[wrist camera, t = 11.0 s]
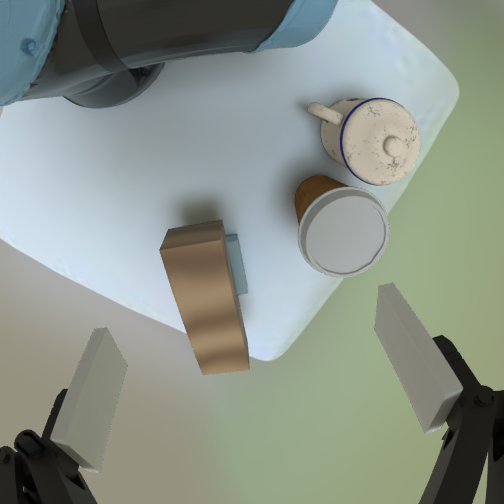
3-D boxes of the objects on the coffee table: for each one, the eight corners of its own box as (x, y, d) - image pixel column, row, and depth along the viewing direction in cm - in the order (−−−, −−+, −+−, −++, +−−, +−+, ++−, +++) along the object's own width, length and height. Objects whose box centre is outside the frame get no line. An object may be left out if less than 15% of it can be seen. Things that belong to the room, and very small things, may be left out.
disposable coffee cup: (304, 245, 43) (327, 297, 32) (267, 188, 39) (281, 226, 28) (364, 209, 41) (405, 250, 30) (332, 148, 37) (371, 171, 26)
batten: (168, 229, 34) (159, 250, 30) (222, 219, 34) (220, 239, 29) (204, 348, 42) (202, 375, 38) (247, 342, 42) (249, 369, 38)
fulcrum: (177, 244, 41) (170, 267, 36) (237, 234, 41) (238, 256, 36) (192, 293, 45) (187, 320, 40) (247, 285, 45) (249, 311, 40)
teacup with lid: (395, 118, 35) (448, 131, 25) (366, 178, 39) (409, 209, 28) (314, 72, 32) (348, 63, 22) (284, 138, 36) (305, 156, 26)
